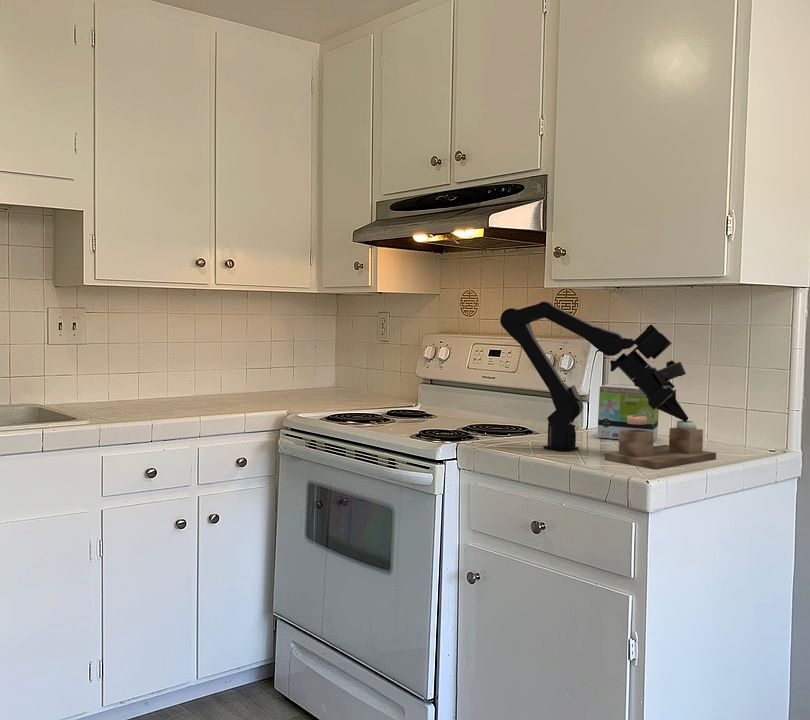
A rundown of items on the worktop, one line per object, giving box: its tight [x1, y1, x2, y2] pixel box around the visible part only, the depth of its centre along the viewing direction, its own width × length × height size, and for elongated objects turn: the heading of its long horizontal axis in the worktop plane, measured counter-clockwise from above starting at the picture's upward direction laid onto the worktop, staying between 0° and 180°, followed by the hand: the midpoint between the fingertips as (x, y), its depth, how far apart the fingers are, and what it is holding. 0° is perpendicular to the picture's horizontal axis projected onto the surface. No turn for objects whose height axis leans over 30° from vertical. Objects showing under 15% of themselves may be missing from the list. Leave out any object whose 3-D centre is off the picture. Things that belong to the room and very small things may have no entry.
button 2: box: [676, 420, 697, 430], centre depth 191 cm, size 4×4×2 cm
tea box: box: [597, 383, 660, 442], centre depth 221 cm, size 15×10×15 cm, turn 65°
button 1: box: [627, 415, 647, 425], centre depth 185 cm, size 4×4×2 cm
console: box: [604, 426, 717, 470], centre depth 188 cm, size 14×24×7 cm, turn 128°
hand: (687, 419), depth 191 cm, fingers closed, pressing on button 2
